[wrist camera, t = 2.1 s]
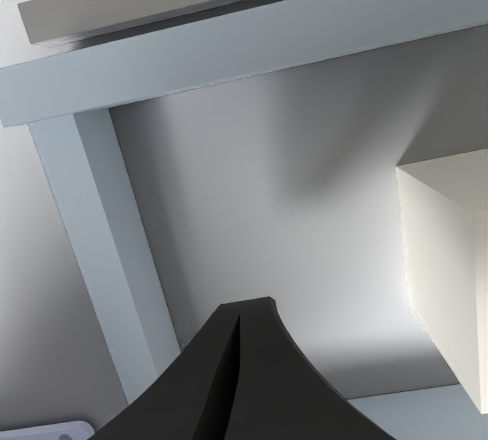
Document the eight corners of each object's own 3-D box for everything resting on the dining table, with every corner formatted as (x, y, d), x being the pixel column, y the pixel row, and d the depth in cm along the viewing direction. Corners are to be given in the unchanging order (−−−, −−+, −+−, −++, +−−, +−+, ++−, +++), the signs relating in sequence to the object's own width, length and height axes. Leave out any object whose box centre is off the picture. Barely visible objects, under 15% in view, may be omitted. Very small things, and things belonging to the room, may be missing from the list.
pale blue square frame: (179, 447, 17) (158, 537, 13) (58, 76, 12) (-17, 72, 9) (574, 395, 15) (663, 482, 12) (591, -49, 11) (738, -109, 8)
